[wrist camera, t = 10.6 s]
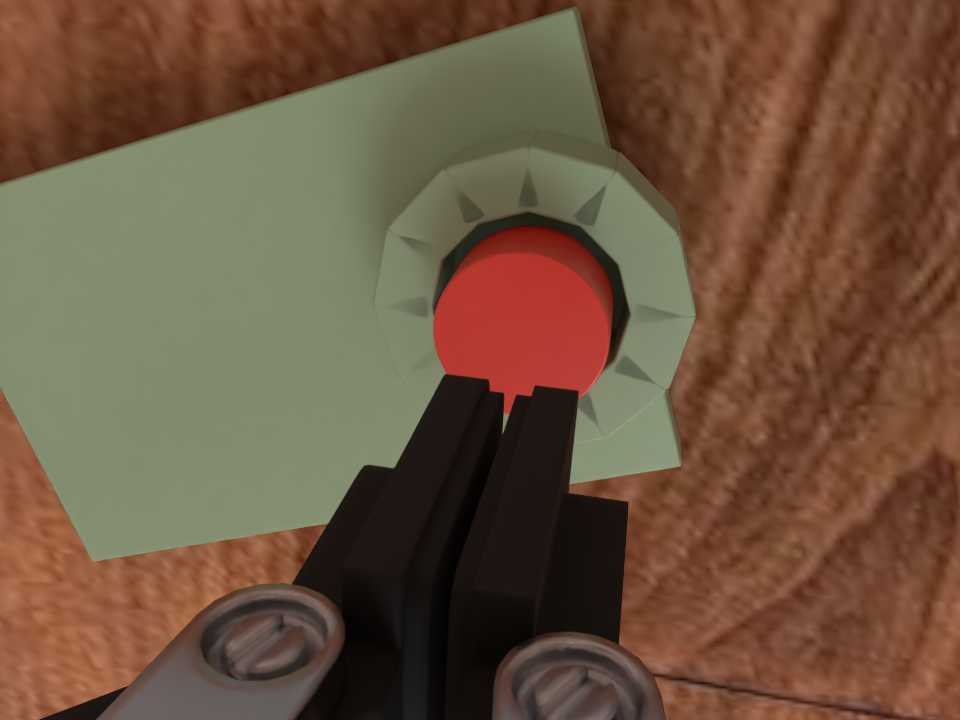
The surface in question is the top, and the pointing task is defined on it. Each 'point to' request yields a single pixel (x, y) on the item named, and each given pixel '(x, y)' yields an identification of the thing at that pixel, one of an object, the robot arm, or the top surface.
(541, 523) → the robot arm
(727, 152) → the top surface
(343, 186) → the button box
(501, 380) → the button
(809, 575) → the top surface
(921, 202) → the top surface
